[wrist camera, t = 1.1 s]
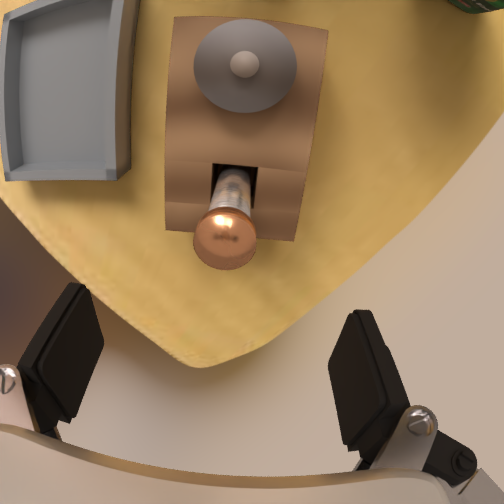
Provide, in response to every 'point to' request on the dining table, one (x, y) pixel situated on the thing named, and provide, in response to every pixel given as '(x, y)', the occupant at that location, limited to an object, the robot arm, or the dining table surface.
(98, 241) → the dining table surface
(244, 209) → the pin
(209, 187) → the tensioner block
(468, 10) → the coffee jar
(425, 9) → the dining table surface
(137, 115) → the dining table surface
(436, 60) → the dining table surface
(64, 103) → the tray
